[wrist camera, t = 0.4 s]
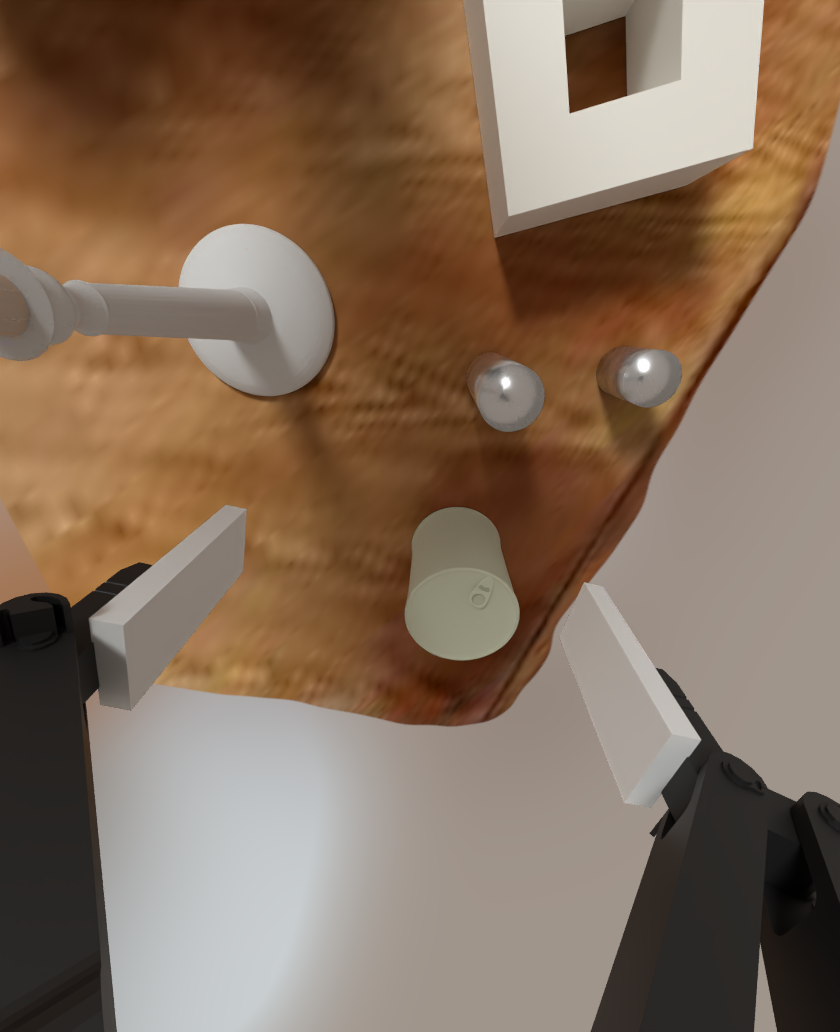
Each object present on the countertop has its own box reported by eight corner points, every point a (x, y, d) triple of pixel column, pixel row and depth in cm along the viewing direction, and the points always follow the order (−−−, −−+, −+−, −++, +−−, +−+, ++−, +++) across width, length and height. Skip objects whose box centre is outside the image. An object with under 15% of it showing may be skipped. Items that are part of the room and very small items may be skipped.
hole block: (460, -17, 26) (468, -125, 20) (693, -100, 25) (782, -247, 18) (494, 237, 32) (508, 216, 26) (686, 185, 30) (752, 148, 24)
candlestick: (284, 192, 31) (-730, -686, 4) (361, 359, 36) (127, 464, 9) (150, 271, 34) (-1029, 52, 7) (238, 417, 39) (-238, 639, 11)
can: (517, 531, 42) (545, 602, 32) (471, 596, 46) (482, 681, 35) (438, 490, 41) (438, 551, 30) (396, 561, 44) (383, 638, 34)
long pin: (462, 358, 36) (473, 373, 25) (508, 347, 35) (540, 357, 24) (470, 404, 37) (483, 437, 26) (515, 394, 37) (547, 424, 26)
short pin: (594, 352, 35) (623, 357, 30) (644, 340, 35) (682, 343, 29) (597, 399, 37) (625, 412, 31) (644, 389, 36) (681, 400, 31)
